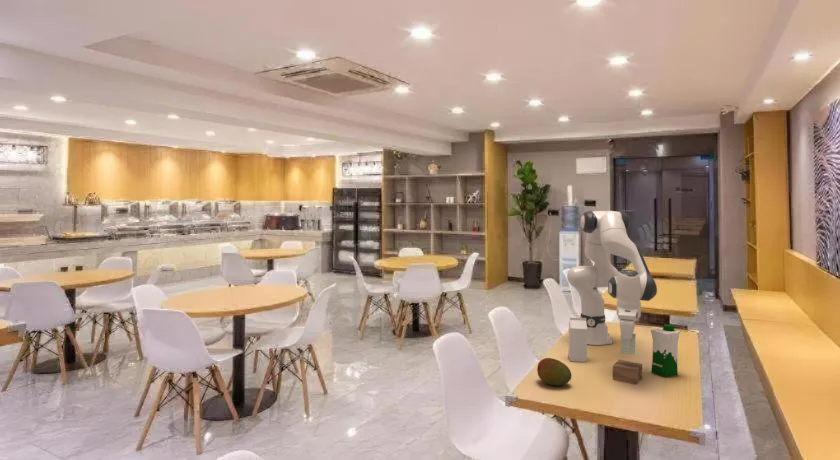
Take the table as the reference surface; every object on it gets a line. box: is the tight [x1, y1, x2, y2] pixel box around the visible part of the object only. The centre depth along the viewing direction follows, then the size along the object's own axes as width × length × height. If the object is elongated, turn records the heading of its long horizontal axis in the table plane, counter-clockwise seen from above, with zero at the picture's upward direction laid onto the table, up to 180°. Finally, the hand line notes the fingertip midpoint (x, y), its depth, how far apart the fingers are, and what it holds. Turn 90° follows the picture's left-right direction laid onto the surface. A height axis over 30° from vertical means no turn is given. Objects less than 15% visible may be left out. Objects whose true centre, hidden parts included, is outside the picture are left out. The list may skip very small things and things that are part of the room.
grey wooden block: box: [620, 333, 637, 356], centre depth 193 cm, size 5×5×7 cm
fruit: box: [536, 357, 572, 386], centre depth 188 cm, size 12×12×10 cm
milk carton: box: [568, 317, 588, 363], centre depth 219 cm, size 7×7×19 cm
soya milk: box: [650, 323, 681, 378], centre depth 199 cm, size 9×9×20 cm
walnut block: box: [612, 359, 643, 385], centre depth 194 cm, size 9×9×6 cm
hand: (628, 345), depth 193 cm, fingers closed on grey wooden block, 5 cm apart
